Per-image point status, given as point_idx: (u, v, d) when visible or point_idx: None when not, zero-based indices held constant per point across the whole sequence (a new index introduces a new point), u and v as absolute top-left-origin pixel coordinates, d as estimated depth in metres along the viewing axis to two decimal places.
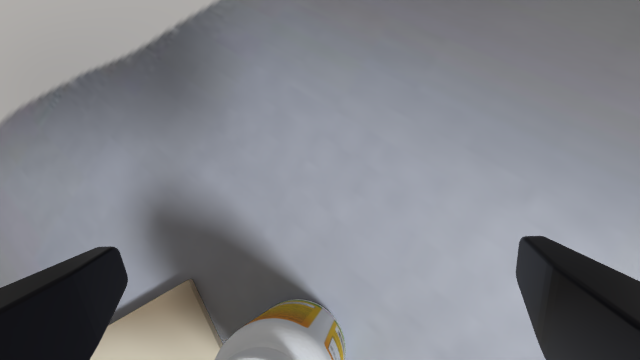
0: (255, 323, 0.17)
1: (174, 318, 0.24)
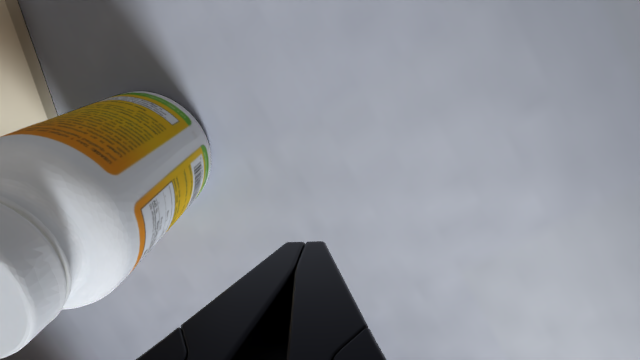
0: (24, 143, 0.10)
1: None
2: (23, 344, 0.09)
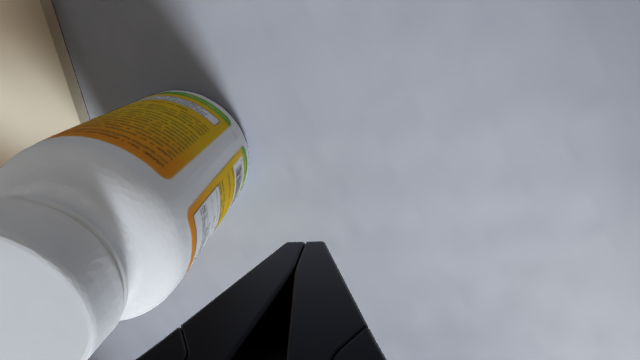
0: (76, 145, 0.10)
1: (11, 43, 0.15)
2: None
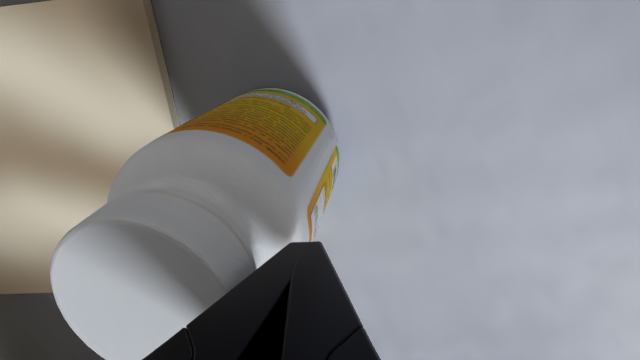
0: (205, 139, 0.09)
1: (108, 41, 0.15)
2: None
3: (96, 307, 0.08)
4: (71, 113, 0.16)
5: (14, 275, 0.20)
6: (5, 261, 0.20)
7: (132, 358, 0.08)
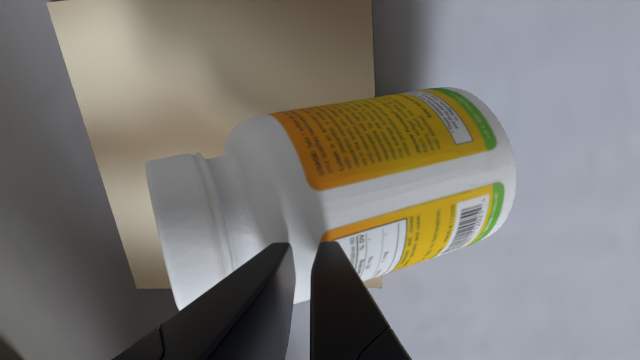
0: (260, 127, 0.10)
1: (323, 22, 0.14)
2: None
3: None
4: (265, 99, 0.15)
5: None
6: (161, 254, 0.19)
7: None
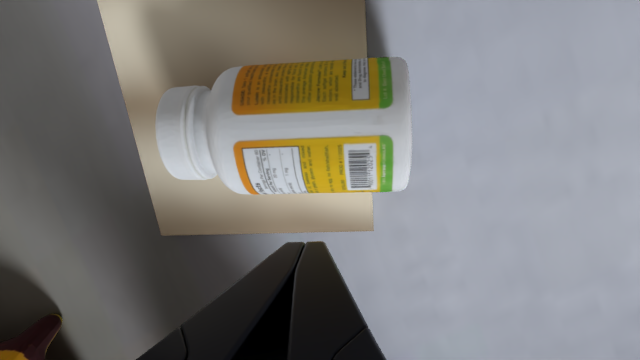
0: (226, 72, 0.15)
1: None
2: None
3: None
4: None
5: (189, 217, 0.22)
6: (184, 204, 0.22)
7: None
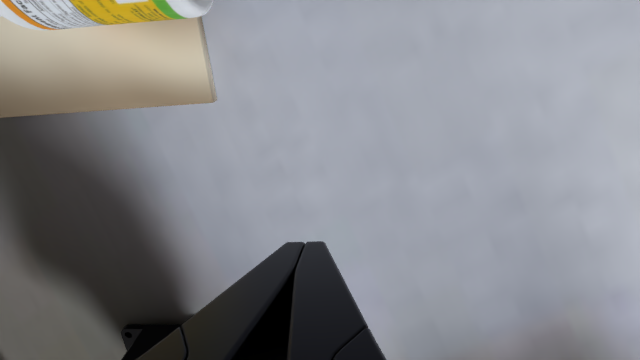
0: None
1: None
2: None
3: None
4: None
5: (18, 94, 0.20)
6: (10, 77, 0.20)
7: None
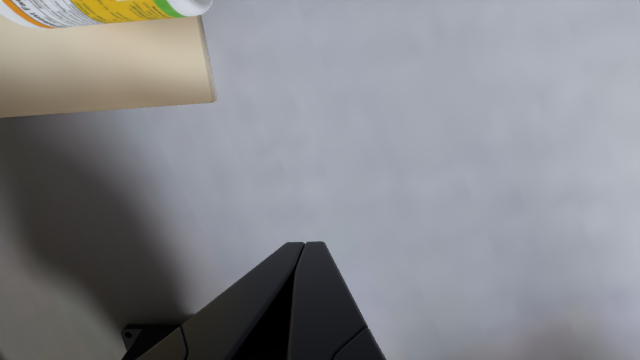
0: None
1: None
2: None
3: None
4: None
5: (18, 94, 0.20)
6: (10, 77, 0.20)
7: None
